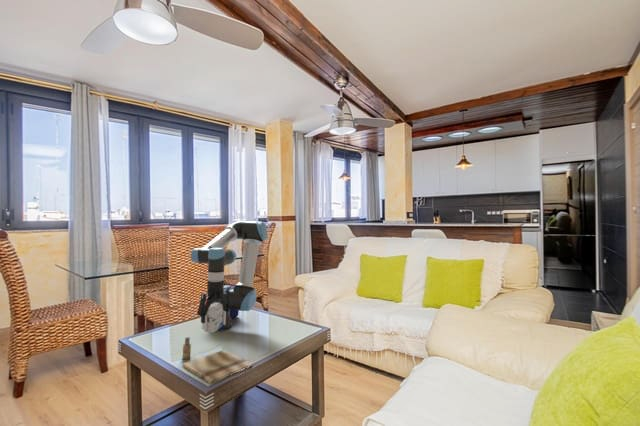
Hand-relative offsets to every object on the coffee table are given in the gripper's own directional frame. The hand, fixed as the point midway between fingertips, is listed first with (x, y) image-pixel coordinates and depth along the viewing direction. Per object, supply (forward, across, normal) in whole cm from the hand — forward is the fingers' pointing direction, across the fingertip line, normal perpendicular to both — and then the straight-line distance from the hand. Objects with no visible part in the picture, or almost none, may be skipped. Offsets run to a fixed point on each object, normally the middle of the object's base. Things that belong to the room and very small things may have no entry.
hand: (214, 326), depth 154 cm
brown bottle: (+10, +14, 0) cm, 17 cm away
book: (+12, -32, -35) cm, 49 cm away
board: (+10, +9, +17) cm, 22 cm away
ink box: (+1, 0, 0) cm, 1 cm away
